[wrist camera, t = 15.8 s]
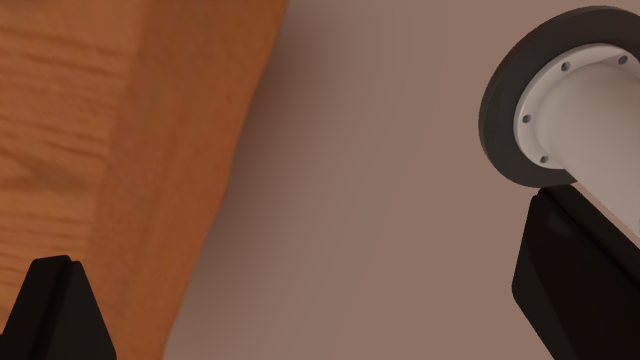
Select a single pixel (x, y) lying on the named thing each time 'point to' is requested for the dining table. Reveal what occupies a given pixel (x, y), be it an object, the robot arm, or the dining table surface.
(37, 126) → the dining table surface
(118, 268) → the dining table surface
